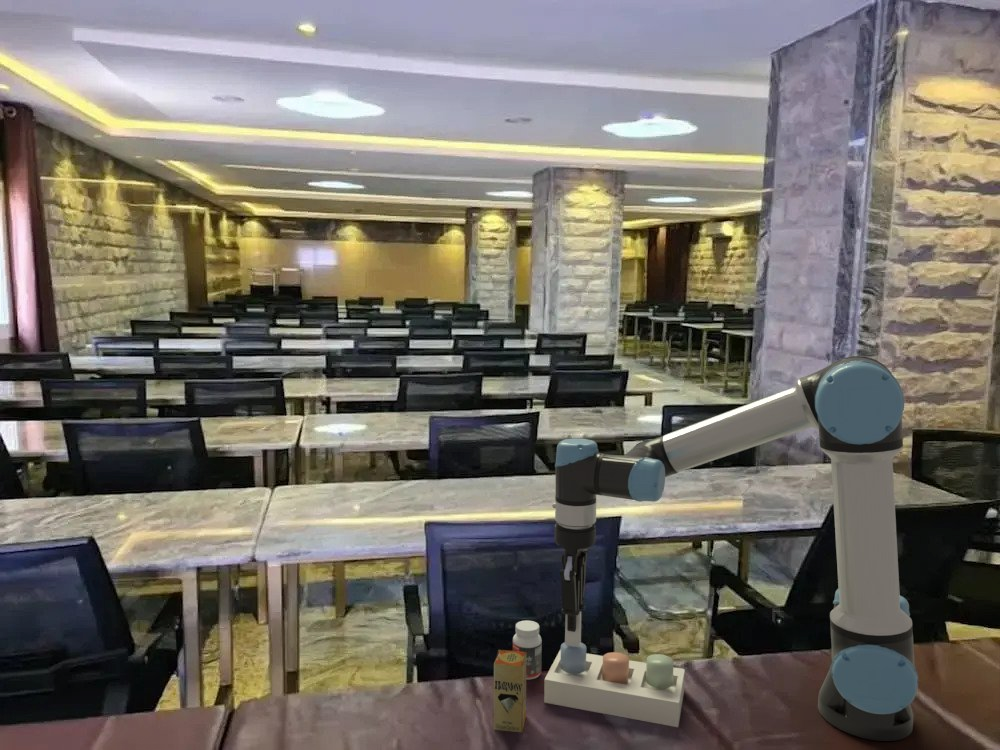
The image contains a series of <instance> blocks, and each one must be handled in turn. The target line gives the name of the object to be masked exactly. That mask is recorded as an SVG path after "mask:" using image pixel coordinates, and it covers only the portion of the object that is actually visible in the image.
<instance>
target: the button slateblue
mask: <svg viewBox="0 0 1000 750" xmlns="http://www.w3.org/2000/svg"><path fill="white" fill-rule="evenodd" d="M560 649H561V669H562V670H563V671H565V672H567V673H571V674H578V673H582V672H584V671H585V670H586V653H587V646H586V644H585V643H583V642H581V644H580V646H579V647H573V646H567V645H565V641H564V642H563V643H561V645H560Z"/></svg>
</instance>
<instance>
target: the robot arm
mask: <svg viewBox="0 0 1000 750" xmlns="http://www.w3.org/2000/svg"><path fill="white" fill-rule="evenodd" d="M904 410H905V395H904V392H903V389H902V387H901V385H900V383H899V381H898V380H897V378H896V377H895V375H893V374H892V372H891V371H890V369H889V368H888V367H887V366H886V365H884V364H883V363H882V362H880V361H879V360H877V359H875V358H872V357H870V356H869V357H868V356H861V355H851V356H847V357H844V358H841V359H838V360H836V361H835V362H833V363H831V364H829V365H827V366H825V367H823V368H821V369H819V370H817V371H815V372H813V373H811V374H808V375H806V376H803V377H800V378H798V379H797V381H796V382H795V385H794V386H793V387H790V388H788V389H785V390H783V391H779V392H777V393H774V394H772V395H769V396H766V397H763V398H761V399H758V400H755V401H753V402H750V403H747V404H745V405H742V406H739V407H737V408H734V409H731V410H728V411H725V412H723V413H720V414H718V415H715V416H712V417H709V418H706V419H704V420H701V421H698V422H696V423H693V424H690V425H687V426H685V427H682V428H679V429H677V430H674V431H671V432H669V433H666V434H664V435H662V436H657V437H655V438H651V439H650V438H649V439H645V440H643V441H640V442H638V443H636V444H635V446H633V447H632V448H631V449H630V450H628V452H626V453H625V454H624V455H619V454H618V455H617V454H608V453H603V452H599V448H598V444H597V442H596V441H595V440H591V439H587V438H575V437H573V438H566V439H563V440H560V441H559V443H558V444H557V446H556V452H555V455H556V456H555V463H554V467H555V468H554V469H555V496H554V499H555V502H554V503H552V507H551V508H553V509H555V512H554V520H555V521H556V523H555V524H554V543H555V544H556V545H557V546H559V547H561V548H563V549H564V553H563V554H561V565H562V569H561V568H560V571H559V576H560V581H561V583H560V585H561V605H562V607H561V610H560V613H562V615H565V617H564V618H565V619H564V621H565V622H564V624H565V625H564V628H565V629H564V631H565V632H564V642H565V645H567V646H573V647H579V646H580V644H581V643H582V610H583V611H586V607H587V605H586V604H583V603H584V601H585V590H586V589H585V587H586V574H587V573H586V572H587V561H588V554H589V551H588V549H590V548H591V547H594V545H595V544H596V532H597V531H596V528H597V527H596V525H595V523H596V522H597V496H601V497H602V496H603V497H611V498H616V499H617V498H618V499H624V500H631V501H635V502H639V503H640V502H653V503H655V502H658V501H660V500H661V498H662V497H663V493H664V490H665V483H666V477H669V476H673V475H675V474H678V473H680V472H683V471H687V470H690V469H692V468H695V467H698V466H702V465H704V464H707V463H710V462H712V461H715V460H719V459H722V458H724V457H727V456H731V455H733V454H737V453H740V452H742V451H746V450H748V449H751V448H754V447H757V446H760V445H764V444H765V443H769V442H772V441H774V440H778V439H780V438H783V437H784V438H785V437H786V436H790V435H793V434H795V433H798V432H801V431H804V430H807V429H810V428H812V429H816V430H818V437H819V438H818V439H819V449H820V450H821V451H822V452H823V453H824V454H825V455H826V456H827V457H829V458H830V463H831V464H830V465H831V482H832V499H833V501H832V502H833V515H834V528H835V529H834V533H835V549H836V550H835V551H836V564H837V565H836V566H837V580H838V581H837V583H838V584H837V585H838V588H837V589H836V590H835V592H834V593H835V594H834V600H832V604H833V609H832V610H831V611H829V620H830V626H829V627H830V639H831V640H830V641H831V642H830V643H831V653H830V656H831V658H830V668H829V670H828V672H827V673H826V676H825V678H824V681H823V683H822V685H821V687H820V689H819V692H818V694H817V695H818V697H817V699H818V700H817V709H818V712H819V714H820V715H821V716H822V718H823V719H824V720H825V721H827V723H829V724H830V725H832V727H835V728H837V729H839V730H840V731H843V732H844V733H847V734H849V735H852V736H855V737H858V738H861V739H865V740H871V741H876V742H878V741H879V742H894V741H895V742H896V741H901V740H903V739H905V738H907V737H909V736H910V735H911V734H912V732H913V728H914V712H913V709H912V705H911V704H912V702H913V701H914V699H915V698H916V694H917V692H918V688H919V674H918V672H917V669H916V665H915V652H914V651H915V649H914V647H915V646H914V634H913V620H912V618H911V617H910V616H911V612H910V604H909V602H908V600H907V599H906V598H905V597H904V596H902V595H900V580H899V579H900V576H899V575H900V574H899V561H898V559H899V557H898V554H899V553H898V540H897V539H898V538H897V519H896V502H895V501H896V500H895V481H894V465H893V459H894V457H896V456H897V455H898V454H899V453H900V452H901V451H902V450H903V449H904V439H903V437H904V436H903V418H902V417H903V415H904V413H903V412H904Z"/></svg>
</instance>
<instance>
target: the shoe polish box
mask: <svg viewBox="0 0 1000 750" xmlns="http://www.w3.org/2000/svg"><path fill="white" fill-rule="evenodd" d="M526 718H527V680H526V652H520V651H513V650H508V649H507V650H505V649H497V654H496V656H495V660H494V662H493V730H495V731H503V732H505V731H506V732H514V733H523V731H524V727H525V721H526Z"/></svg>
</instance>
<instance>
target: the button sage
mask: <svg viewBox="0 0 1000 750" xmlns="http://www.w3.org/2000/svg"><path fill="white" fill-rule="evenodd" d="M645 663H646V682H647V683H648V684H649V685H650V686H652V687H655V688H660V689H665V688H669V687H671V686H672V685H673V667H674V659H673V658H671V657H670V656H668V655H666V654H661V653H655V654H649V656H647V657H646V662H645Z"/></svg>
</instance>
